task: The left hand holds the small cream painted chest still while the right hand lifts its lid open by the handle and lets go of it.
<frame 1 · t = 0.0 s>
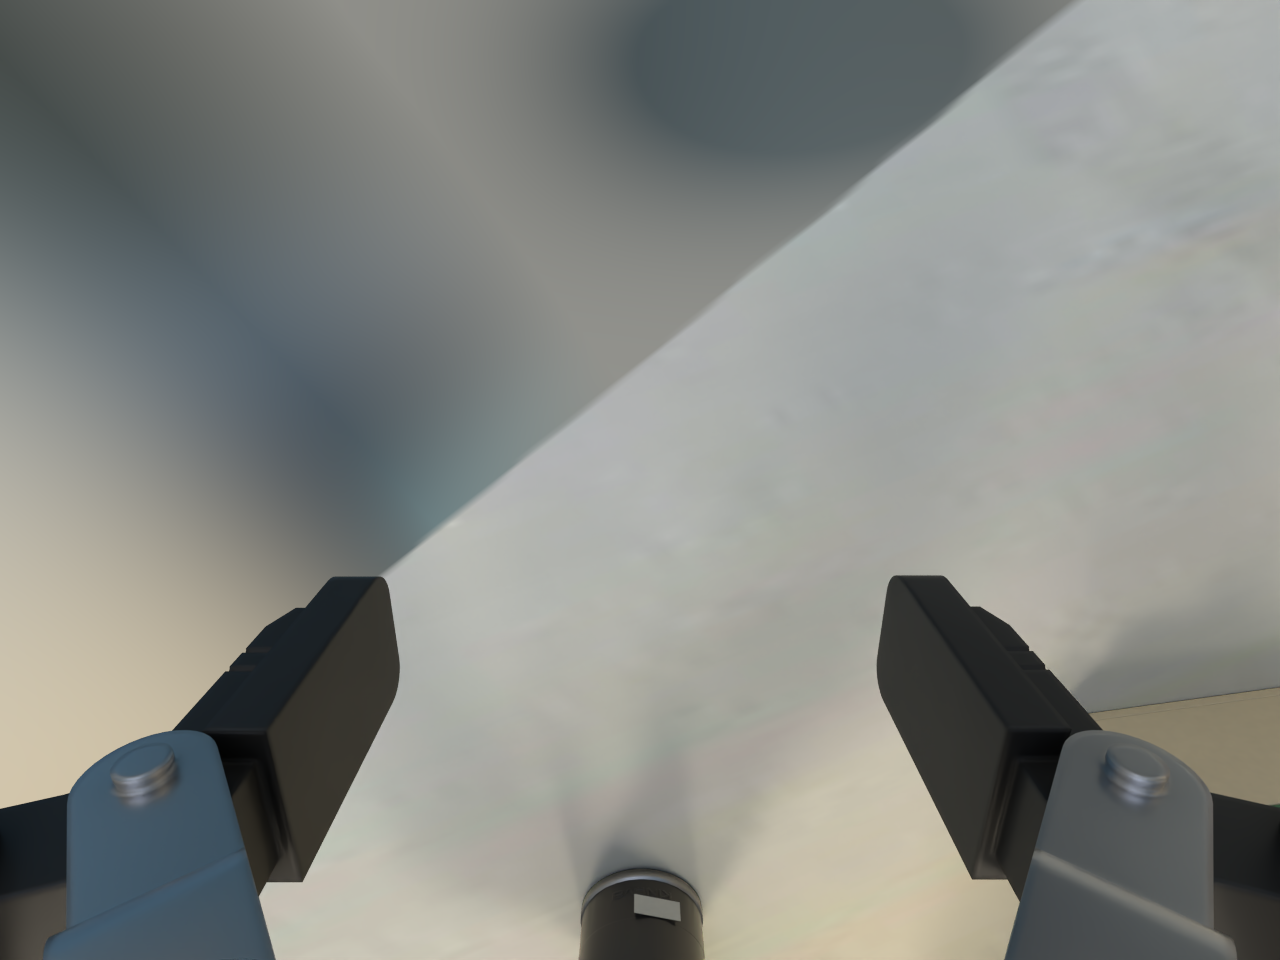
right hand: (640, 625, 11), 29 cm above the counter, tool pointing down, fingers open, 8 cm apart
chest: (1156, 759, 49), on the counter
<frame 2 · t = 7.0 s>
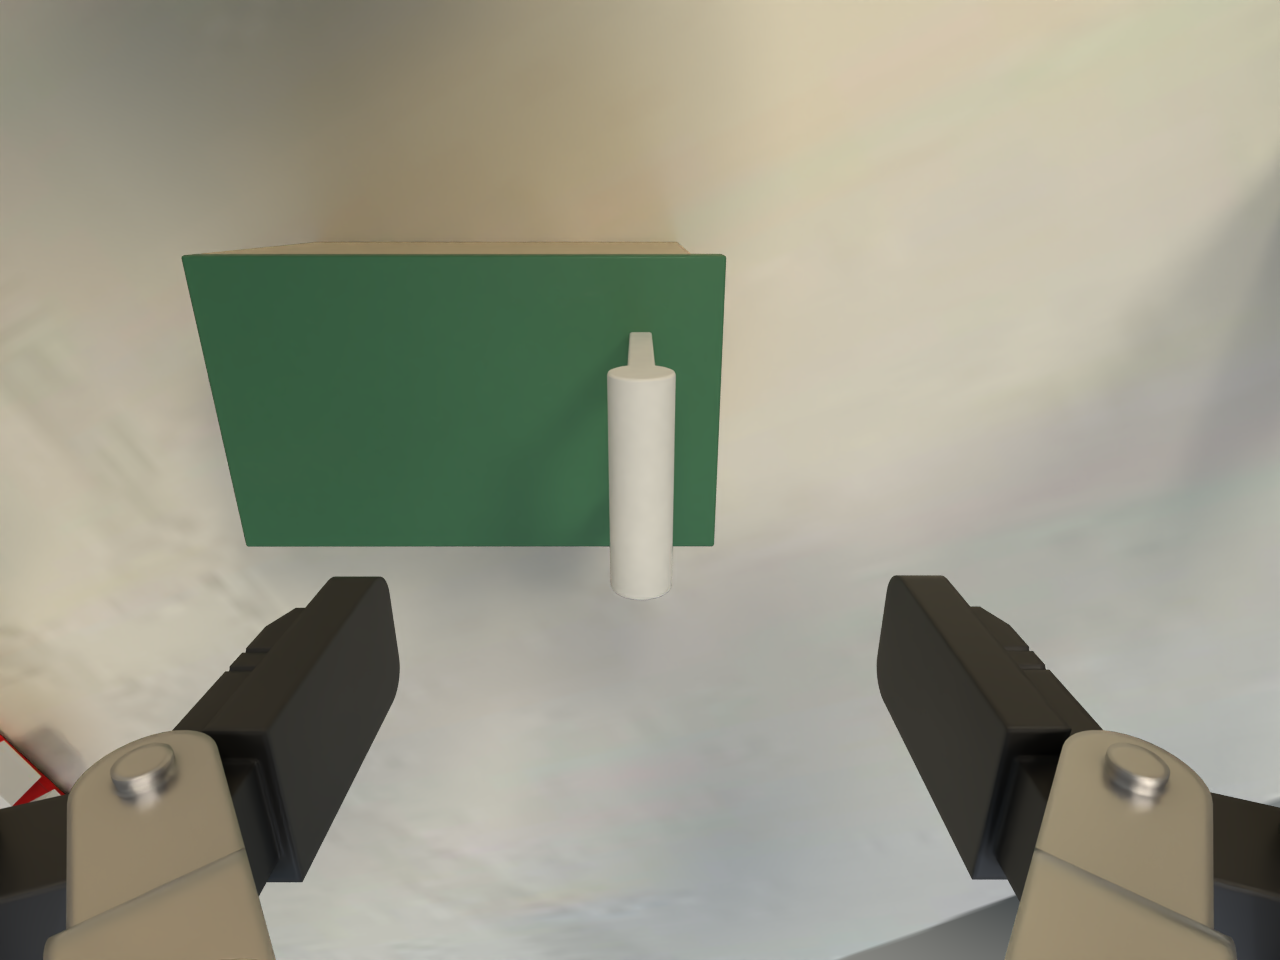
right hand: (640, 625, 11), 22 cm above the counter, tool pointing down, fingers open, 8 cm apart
lid: (442, 442, 20), point 13 cm above the counter, hinge at 0.0°
chest: (505, 355, 32), on the counter
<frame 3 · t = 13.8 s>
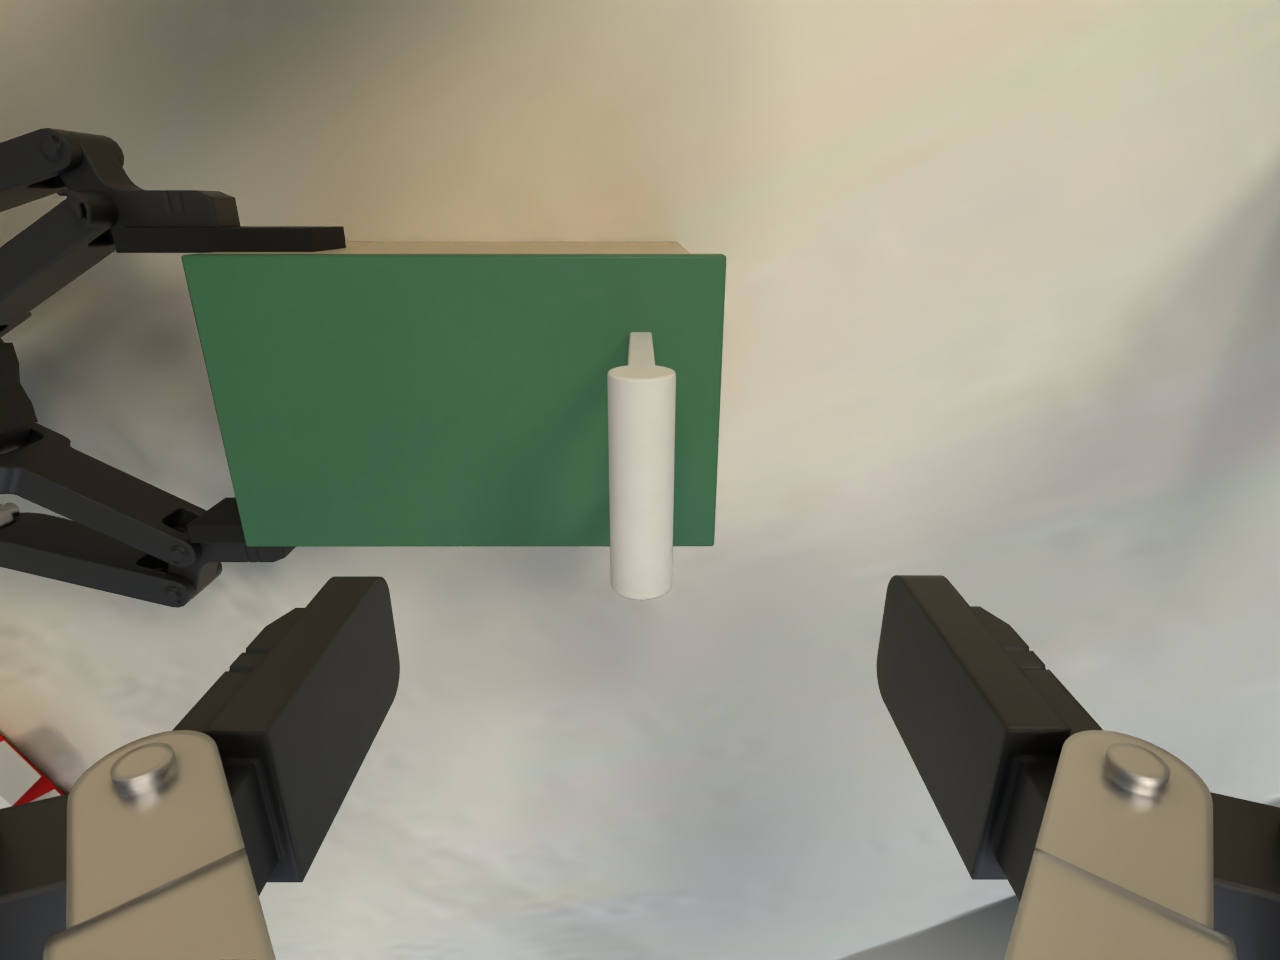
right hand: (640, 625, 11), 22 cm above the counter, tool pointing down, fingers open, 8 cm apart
lid: (442, 442, 20), point 13 cm above the counter, hinge at 0.0°
chest: (505, 355, 32), on the counter, touching left hand
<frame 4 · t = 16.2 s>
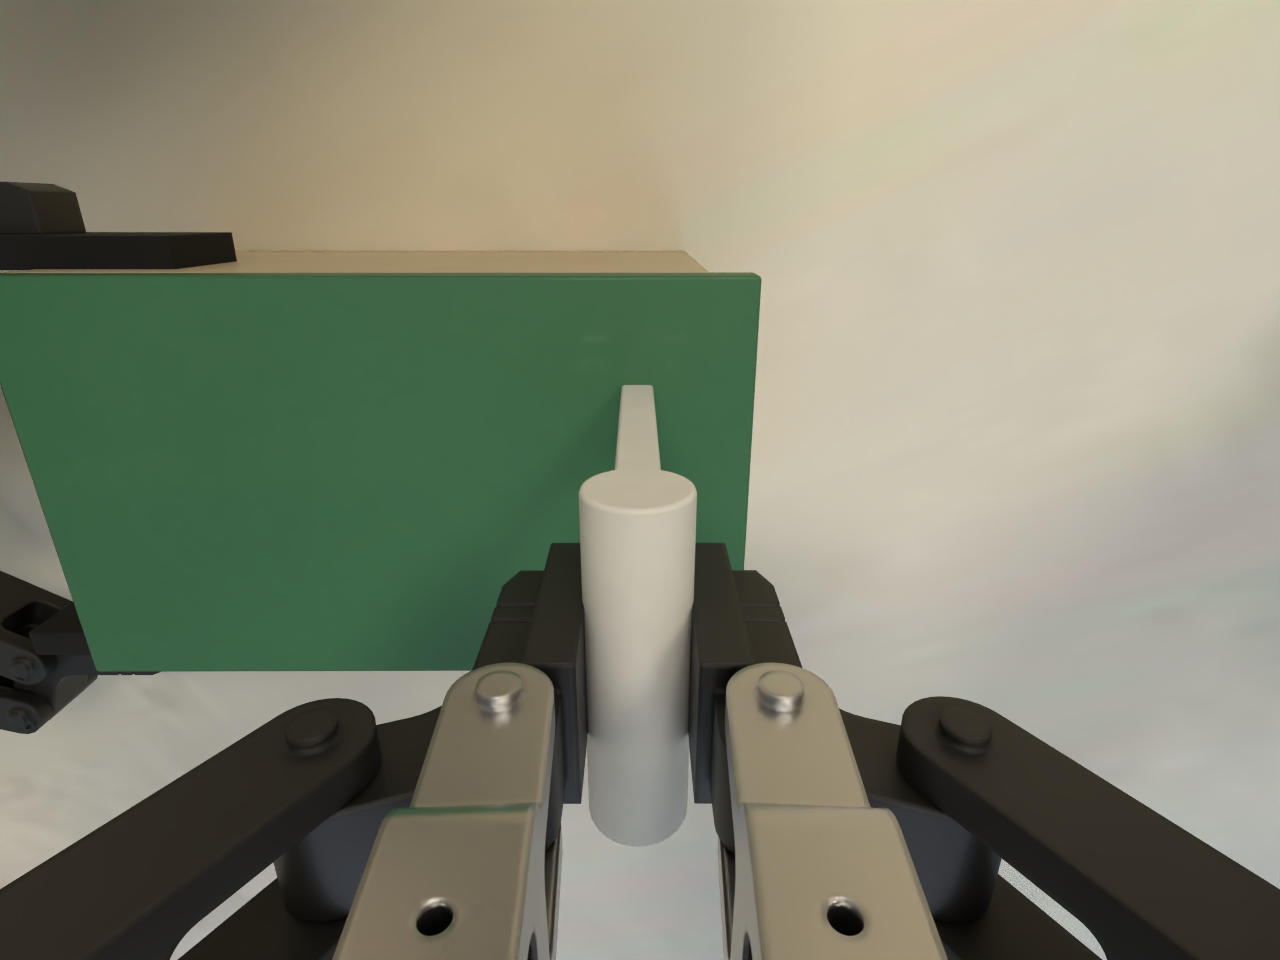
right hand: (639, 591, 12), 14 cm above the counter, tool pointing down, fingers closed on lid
lid: (338, 559, 13), point 13 cm above the counter, hinge at -0.1°, touching right hand
chest: (466, 394, 25), on the counter, touching left hand
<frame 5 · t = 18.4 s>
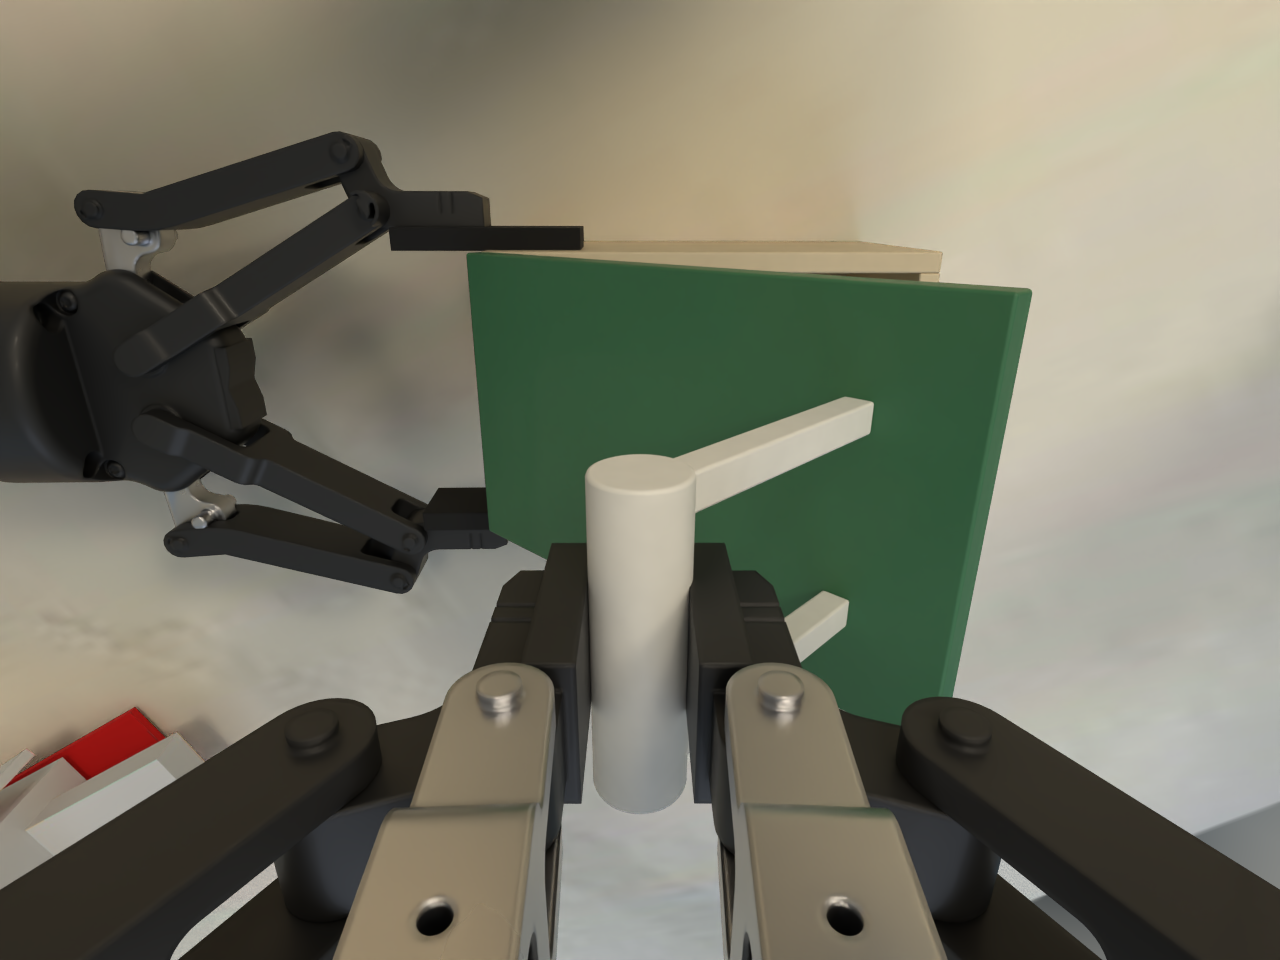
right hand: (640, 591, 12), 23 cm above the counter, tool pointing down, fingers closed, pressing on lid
left hand: (585, 381, 27), fingers closed on chest, 10 cm apart
lid: (562, 488, 17), point 18 cm above the counter, hinge at 45.5°, touching right hand
chest: (686, 350, 33), on the counter, touching left hand
toy: (43, 824, 43), on the counter
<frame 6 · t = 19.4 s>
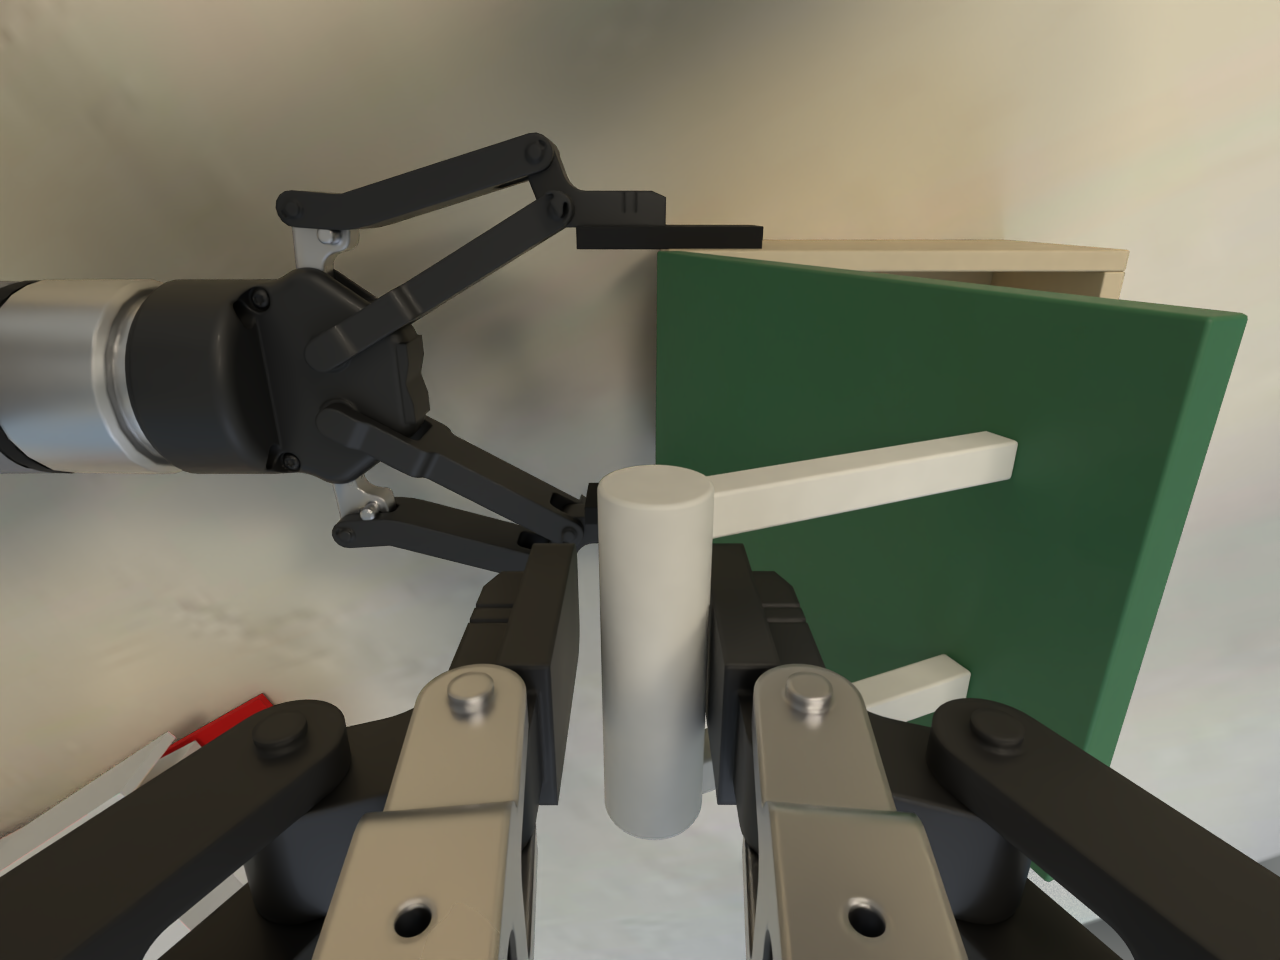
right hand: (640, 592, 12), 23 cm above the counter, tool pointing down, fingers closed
left hand: (748, 379, 28), fingers closed on chest, 10 cm apart
lid: (679, 491, 17), point 18 cm above the counter, hinge at 66.3°
chest: (823, 348, 34), on the counter, touching left hand
toy: (166, 805, 44), on the counter
when the left hand's fingers open (6 cm above the counter, at t = 23.7 s): chest stays where it is, on the counter.
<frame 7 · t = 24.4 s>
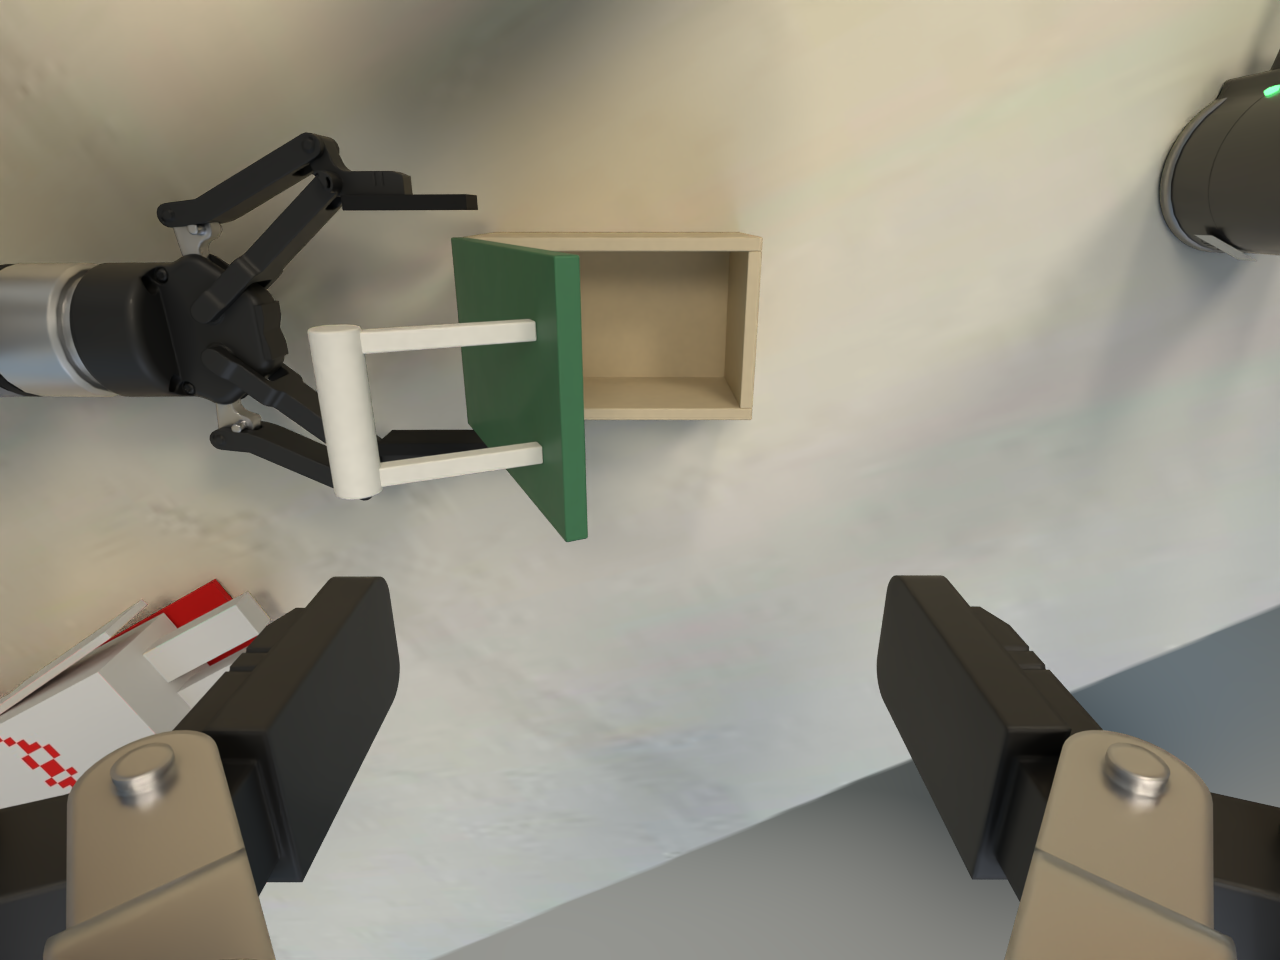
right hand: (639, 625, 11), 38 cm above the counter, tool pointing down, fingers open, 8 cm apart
left hand: (483, 329, 40), fingers open, 13 cm apart
lid: (422, 370, 29), point 18 cm above the counter, hinge at 65.2°
chest: (617, 311, 46), on the counter
toy: (144, 673, 57), on the counter
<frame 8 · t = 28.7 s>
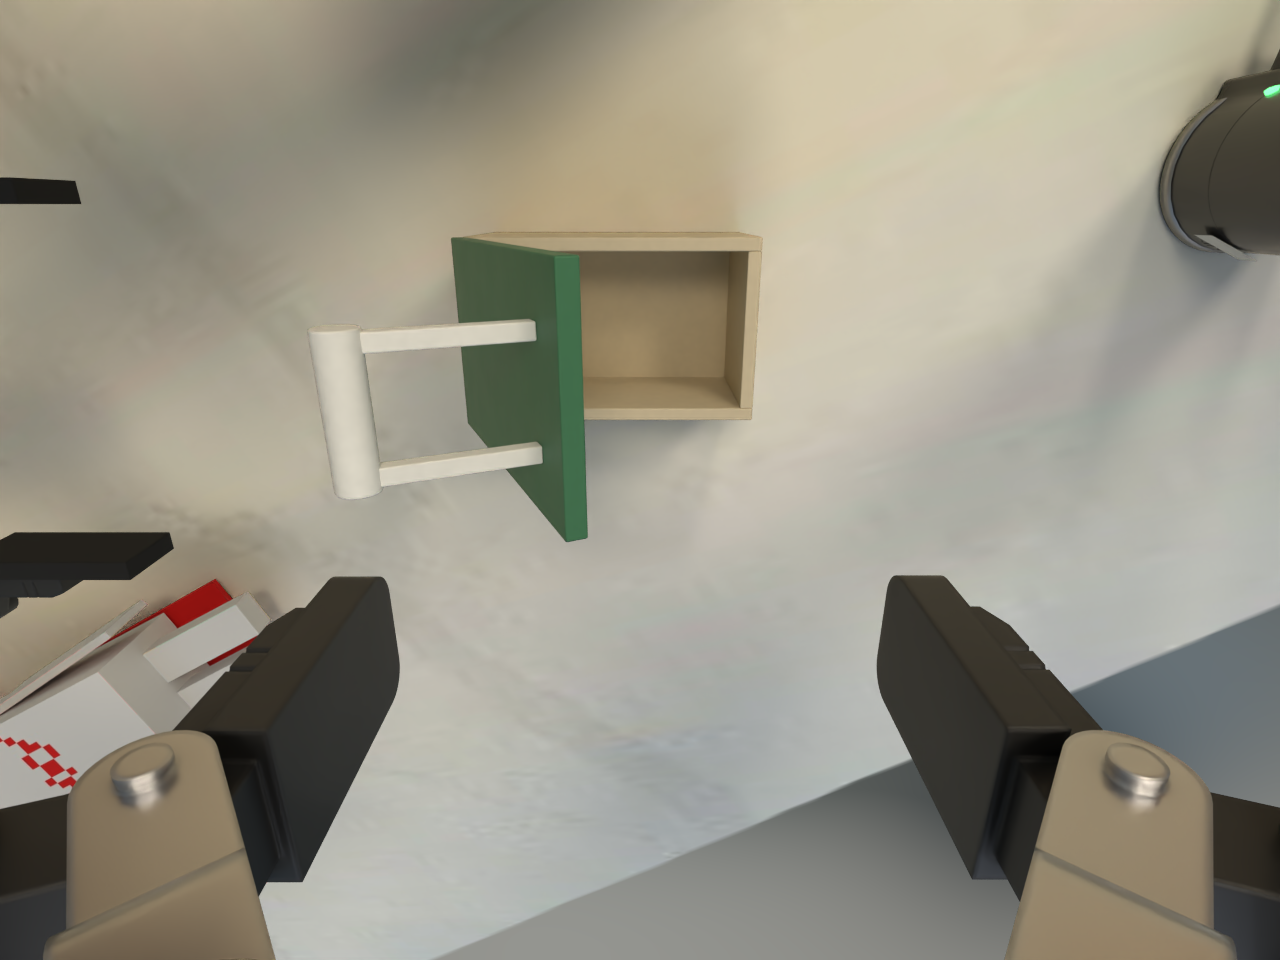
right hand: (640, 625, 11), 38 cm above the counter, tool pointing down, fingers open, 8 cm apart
lid: (422, 370, 29), point 18 cm above the counter, hinge at 65.2°
chest: (617, 311, 46), on the counter
toy: (144, 673, 57), on the counter
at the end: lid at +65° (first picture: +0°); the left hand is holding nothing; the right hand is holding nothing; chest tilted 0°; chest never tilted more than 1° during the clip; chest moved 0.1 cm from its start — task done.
